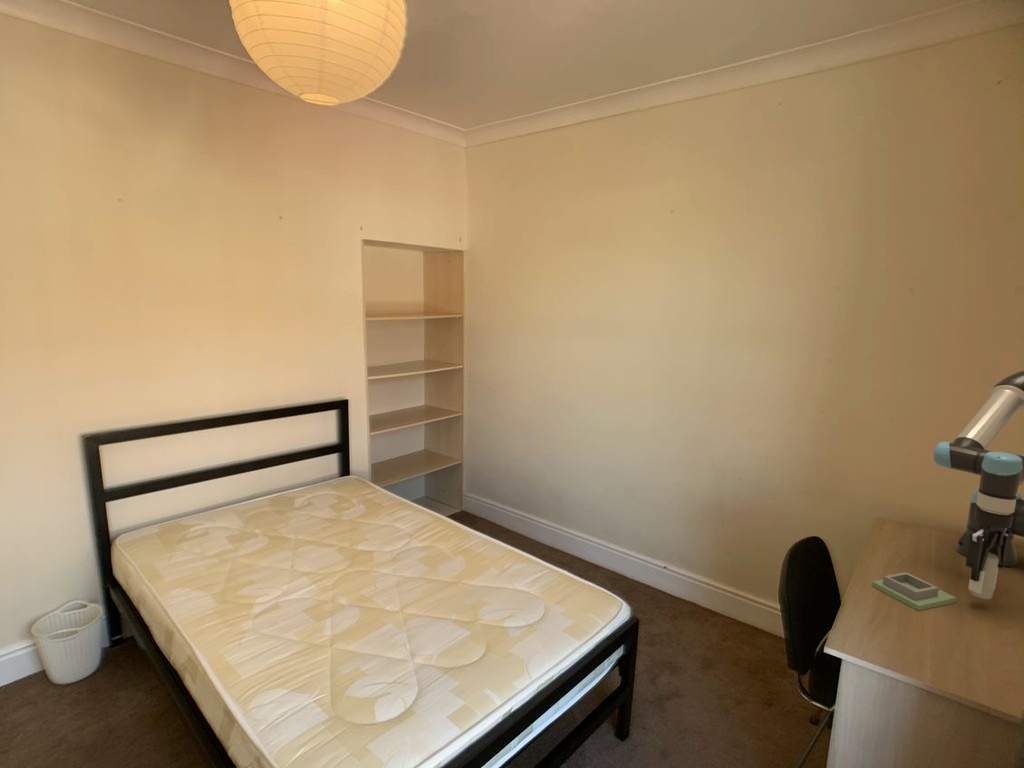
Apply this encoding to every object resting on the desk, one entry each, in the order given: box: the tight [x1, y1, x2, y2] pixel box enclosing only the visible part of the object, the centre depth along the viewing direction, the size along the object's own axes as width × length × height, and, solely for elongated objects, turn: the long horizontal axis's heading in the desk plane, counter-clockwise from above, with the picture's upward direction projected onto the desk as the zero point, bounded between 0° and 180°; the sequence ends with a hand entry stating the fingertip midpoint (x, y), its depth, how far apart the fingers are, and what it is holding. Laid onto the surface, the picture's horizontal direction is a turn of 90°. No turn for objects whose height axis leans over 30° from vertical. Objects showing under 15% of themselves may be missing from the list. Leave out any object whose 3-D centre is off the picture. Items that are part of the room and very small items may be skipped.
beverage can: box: [968, 553, 999, 600], centre depth 142 cm, size 5×5×12 cm
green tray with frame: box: [871, 571, 957, 611], centre depth 148 cm, size 15×13×4 cm
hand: (981, 589), depth 142 cm, fingers closed on beverage can, 5 cm apart
